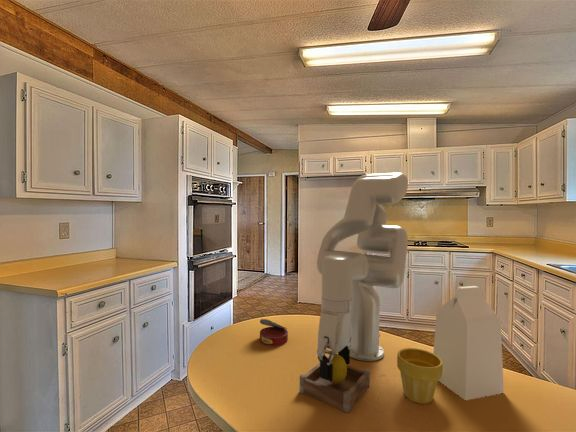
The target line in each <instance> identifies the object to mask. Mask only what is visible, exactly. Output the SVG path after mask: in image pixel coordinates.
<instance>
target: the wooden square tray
mask: <svg viewBox="0 0 576 432" xmlns="http://www.w3.org/2000/svg"><path fill="white" fill-rule="evenodd" d="M326 357H327V358H329V356H326ZM346 366H347V375H346V378H345V380H344V381H343V382H342V383H340V384H337V385H334V383H332V382H330V381H328V380H325V379H323V378H321V377H320V362H319V363H317V364H316V365H315V366H314V367H312V368H311V369H310V370H308V372H306V373H305V374H300V375H299V394H302V395H303V394H304V395H305V396H308V397H310V398H313V399H315V400H318V401H320V402H323V403H325V404H326V405H329V406H331V407H335V408H336V409H339V410H341V411H343V412H344V413H348V414H349V413H350V412H351V409H352V408H353V406H355V404H356V403H357V402H358V400H359V399H360V398H361V397H362V395H364V393H365V391H366V390H367V389H369V388H370V384H371V383H370V380H371V377H370V376H371V375H370V374H371V372H370V370H369V369H363V370H361V369H358V368H356V367H353V366H349V365H347V364H346Z"/></svg>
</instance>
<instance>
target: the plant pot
mask: <svg viewBox="0 0 576 432" xmlns="http://www.w3.org/2000/svg"><path fill="white" fill-rule="evenodd" d="M396 363H397V364H396V365H397V369H398V370H399V372H400V377H401V384H402V390H403V394H404V395H405V397H406V398H407V399H408V400H410V401H413V402H414V403H418V404H430V403H431V402H432V401H433V400H434V397H435V392H436V388H437V385H438V382H439V381H438V379H440V378H441V376H442V368H443V362H442V360H441V359H440V358H439V357H438V356H437V355H435V354H433V352H432V351H429V350H426V349H421V348H416V347H407V348H406V347H405V348H402V349H400V350H399V351H398V352H397V357H396Z"/></svg>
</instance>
